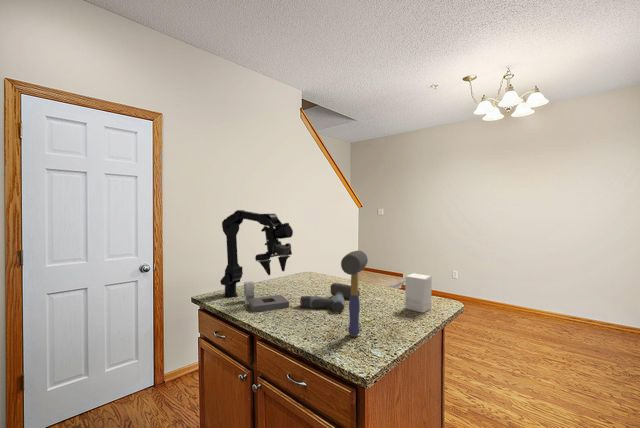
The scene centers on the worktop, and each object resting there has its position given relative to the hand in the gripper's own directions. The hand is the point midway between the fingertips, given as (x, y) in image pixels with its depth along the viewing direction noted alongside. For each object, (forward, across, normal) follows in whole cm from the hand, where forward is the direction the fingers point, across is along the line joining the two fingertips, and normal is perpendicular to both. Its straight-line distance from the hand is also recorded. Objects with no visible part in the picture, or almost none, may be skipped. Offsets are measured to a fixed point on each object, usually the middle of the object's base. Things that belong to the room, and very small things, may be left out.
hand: (276, 273), depth 135 cm
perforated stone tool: (+19, +29, -17) cm, 39 cm away
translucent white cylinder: (+12, -5, +16) cm, 21 cm away
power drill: (+18, +13, -15) cm, 27 cm away
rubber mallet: (+22, -7, -42) cm, 48 cm away
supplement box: (+25, +36, -51) cm, 67 cm away
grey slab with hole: (+14, -3, +4) cm, 15 cm away
